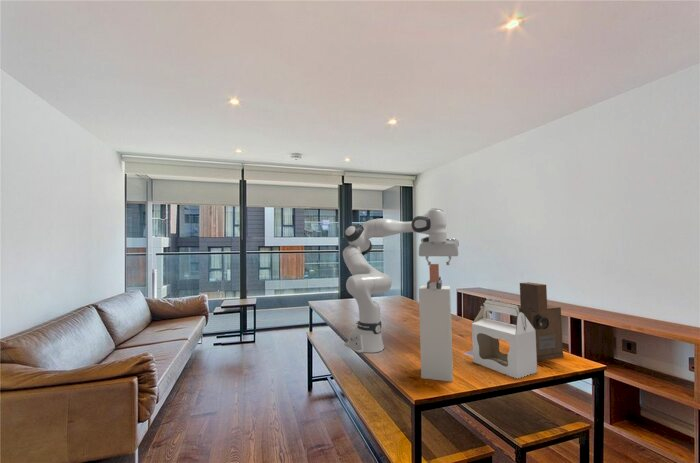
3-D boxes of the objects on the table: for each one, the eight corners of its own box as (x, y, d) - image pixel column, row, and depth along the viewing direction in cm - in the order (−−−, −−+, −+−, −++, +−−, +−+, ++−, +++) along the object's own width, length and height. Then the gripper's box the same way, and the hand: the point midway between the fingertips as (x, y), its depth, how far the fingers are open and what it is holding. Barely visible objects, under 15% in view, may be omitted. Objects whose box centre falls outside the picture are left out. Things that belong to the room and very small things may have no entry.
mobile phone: (494, 350, 158) (477, 356, 149) (494, 352, 158) (477, 358, 149) (480, 346, 164) (463, 352, 155) (480, 348, 164) (463, 354, 155)
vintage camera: (539, 365, 138) (535, 285, 140) (513, 355, 152) (510, 282, 154) (571, 360, 144) (568, 283, 146) (544, 350, 158) (541, 280, 159)
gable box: (472, 361, 144) (470, 300, 146) (491, 356, 150) (489, 297, 152) (518, 379, 125) (515, 308, 126) (538, 372, 131) (535, 304, 132)
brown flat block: (432, 283, 146) (432, 262, 147) (440, 283, 145) (440, 262, 146) (427, 291, 121) (427, 265, 122) (437, 291, 120) (436, 265, 120)
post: (423, 368, 137) (421, 279, 139) (452, 371, 133) (449, 280, 135) (421, 378, 128) (418, 282, 129) (452, 381, 124) (449, 283, 125)
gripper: (458, 238, 167) (459, 265, 166) (419, 239, 173) (419, 264, 173) (458, 238, 161) (459, 265, 160) (417, 239, 168) (418, 265, 167)
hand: (438, 265), depth 166 cm, fingers open, 8 cm apart
